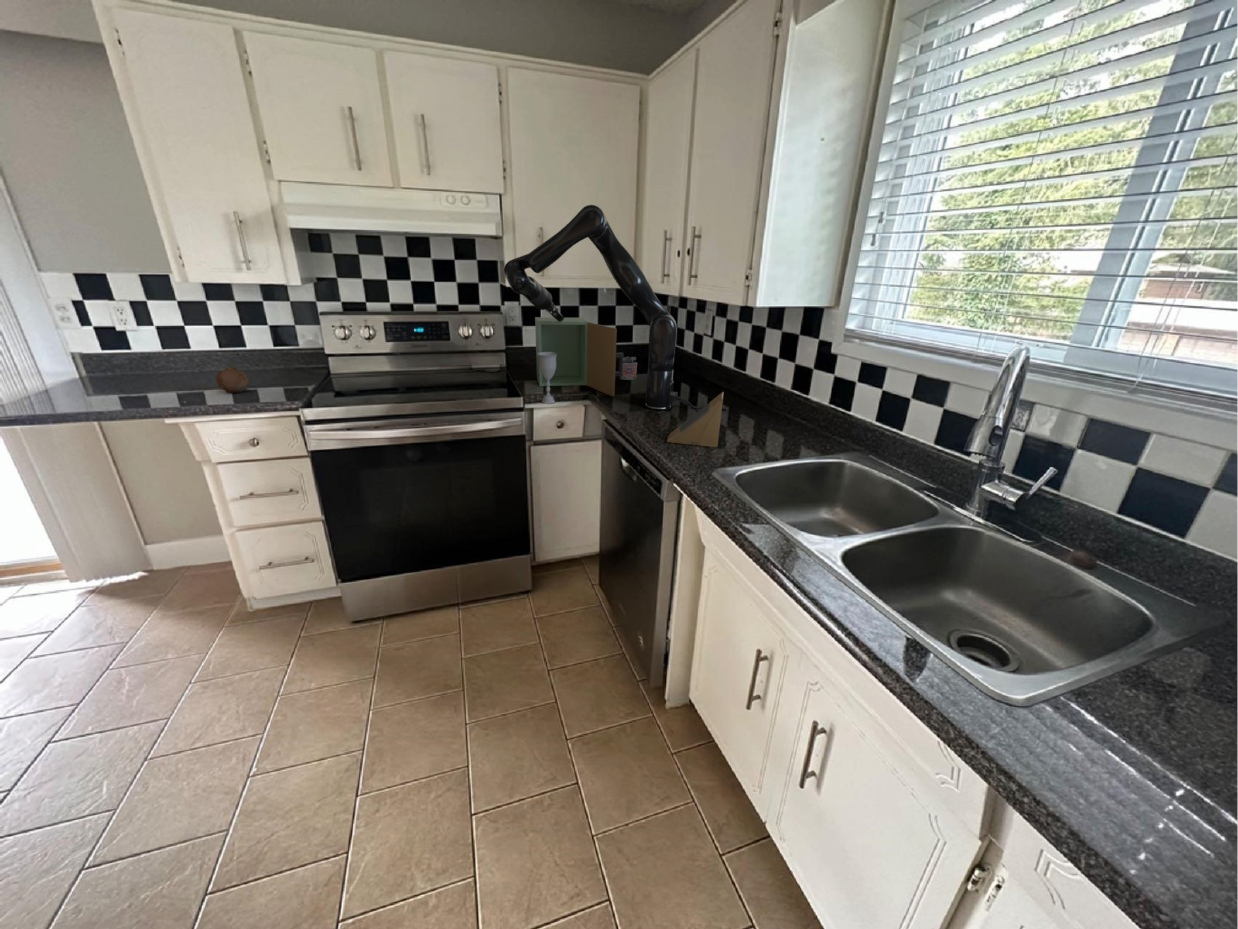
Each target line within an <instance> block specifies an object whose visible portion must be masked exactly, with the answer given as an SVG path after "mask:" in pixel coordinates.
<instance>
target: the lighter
mask: <svg viewBox="0 0 1238 929" xmlns="http://www.w3.org/2000/svg"><path fill="white" fill-rule="evenodd" d="M637 369H638V362H637V357H636V356H631V357H630V356H626V357H623V376H618V380H622V381H624V380H625V381H634V380H637V379H638V377H637Z"/></svg>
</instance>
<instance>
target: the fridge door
mask: <svg viewBox="0 0 1238 929" xmlns="http://www.w3.org/2000/svg"><path fill="white" fill-rule="evenodd" d="M617 329H618V328H616V327H610V326H607V325H603V324H599V323H594V322H590V321H588V331H587V385H586V387H589V388H592V389H594V390H596V391H598V392H601V393H603V394H606V395H608V396H610V397H615V395H616V392H615V391H616V377H618V378H619V377H620V376H623V358H624V352H617V337H618V336H617V334H618V330H617ZM617 359H618V371H616V368H617V367H616V365H617Z"/></svg>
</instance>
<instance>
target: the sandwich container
mask: <svg viewBox="0 0 1238 929" xmlns="http://www.w3.org/2000/svg"><path fill="white" fill-rule="evenodd" d="M723 404H724V391H722V392H721V393H719V394H718V395H717V396H716V397H714V398H713V399H711V401H709V402H708V403H707V404H706V405H704V406H705V407H704V406H702V407H703V408H702V409H698V411H697V412H695V413H694V414H693V415H691V416H690V417H689V418H688V419H686V420H685V421H684V422H683V423H681V424H680V425H679V426H677V427H676V428H675V429H674V430H673V431H671V432H670V433H669V434H668V436H667V439H666V442H667V443H672V444H673V443H674V444H683V445H693V446H701V447H711V448H718V446H719V437H720V429H721V419H722V412H723V410H722V408H723Z"/></svg>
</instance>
